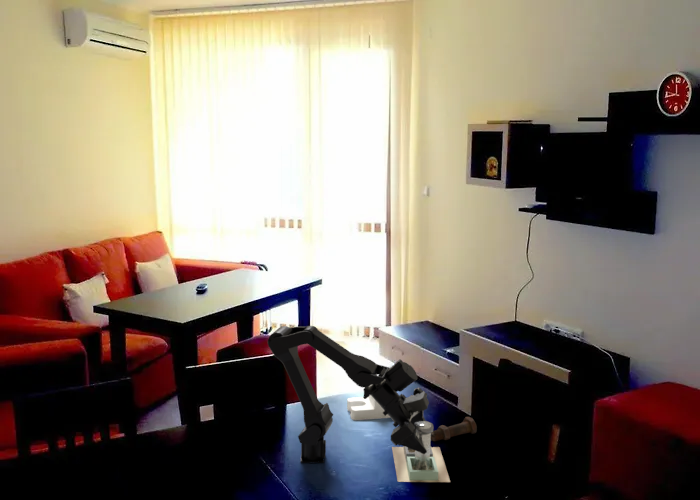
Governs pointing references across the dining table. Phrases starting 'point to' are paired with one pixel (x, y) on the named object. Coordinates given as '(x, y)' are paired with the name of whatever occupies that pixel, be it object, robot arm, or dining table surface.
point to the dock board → (402, 467)
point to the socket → (422, 473)
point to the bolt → (454, 430)
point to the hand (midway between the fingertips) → (428, 444)
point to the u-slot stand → (365, 408)
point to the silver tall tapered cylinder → (424, 436)
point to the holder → (408, 454)
